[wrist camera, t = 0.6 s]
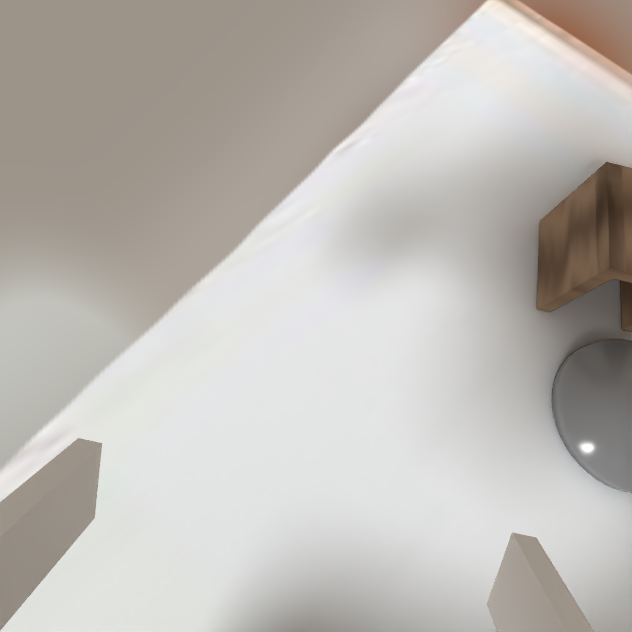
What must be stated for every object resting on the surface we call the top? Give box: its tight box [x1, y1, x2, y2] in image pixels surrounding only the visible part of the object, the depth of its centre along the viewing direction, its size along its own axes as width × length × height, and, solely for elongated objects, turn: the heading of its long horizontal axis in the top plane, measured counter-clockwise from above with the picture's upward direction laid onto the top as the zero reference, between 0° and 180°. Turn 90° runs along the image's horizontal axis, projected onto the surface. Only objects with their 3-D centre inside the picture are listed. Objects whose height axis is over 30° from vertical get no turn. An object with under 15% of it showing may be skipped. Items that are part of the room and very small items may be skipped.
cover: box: [537, 162, 632, 332], centre depth 35 cm, size 9×9×8 cm
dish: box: [552, 339, 632, 493], centre depth 35 cm, size 12×12×1 cm
